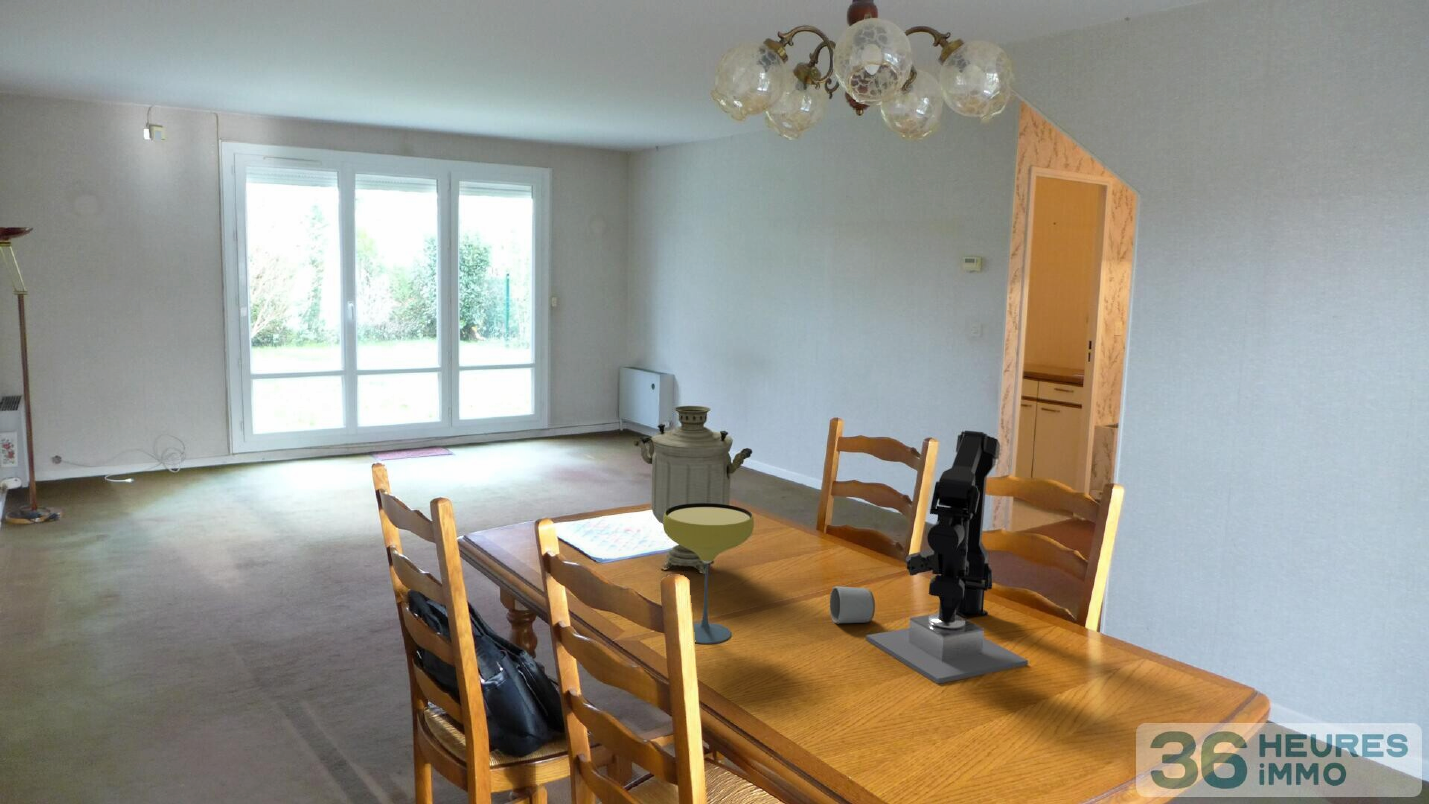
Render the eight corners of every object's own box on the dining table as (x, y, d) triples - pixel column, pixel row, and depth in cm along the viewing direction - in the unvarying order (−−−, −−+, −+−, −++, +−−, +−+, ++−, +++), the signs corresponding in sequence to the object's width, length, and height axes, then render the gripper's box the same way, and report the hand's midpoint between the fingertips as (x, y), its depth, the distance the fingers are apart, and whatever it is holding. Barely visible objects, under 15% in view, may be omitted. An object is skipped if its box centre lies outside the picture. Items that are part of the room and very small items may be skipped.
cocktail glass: (647, 623, 191) (650, 505, 188) (727, 613, 198) (731, 500, 195) (679, 656, 175) (683, 528, 171) (764, 644, 182) (769, 521, 179)
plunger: (947, 636, 186) (949, 596, 185) (971, 649, 179) (974, 607, 178) (919, 641, 183) (922, 600, 181) (942, 654, 176) (945, 612, 175)
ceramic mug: (876, 627, 193) (878, 592, 192) (838, 628, 192) (840, 593, 191) (858, 610, 204) (860, 576, 203) (823, 611, 202) (825, 577, 201)
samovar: (771, 562, 236) (778, 407, 231) (717, 589, 214) (723, 419, 209) (676, 541, 252) (680, 396, 246) (616, 564, 230) (619, 405, 224)
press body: (947, 634, 188) (949, 611, 187) (982, 653, 179) (984, 628, 178) (908, 641, 183) (910, 617, 183) (941, 661, 174) (943, 635, 174)
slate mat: (950, 625, 196) (951, 620, 196) (1027, 665, 176) (1028, 660, 176) (865, 640, 186) (866, 635, 186) (937, 684, 167) (937, 678, 166)
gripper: (915, 525, 190) (910, 598, 192) (904, 548, 172) (899, 628, 174) (971, 531, 186) (966, 605, 188) (965, 556, 169) (959, 637, 171)
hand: (946, 618), depth 180 cm, fingers closed on plunger, 3 cm apart
